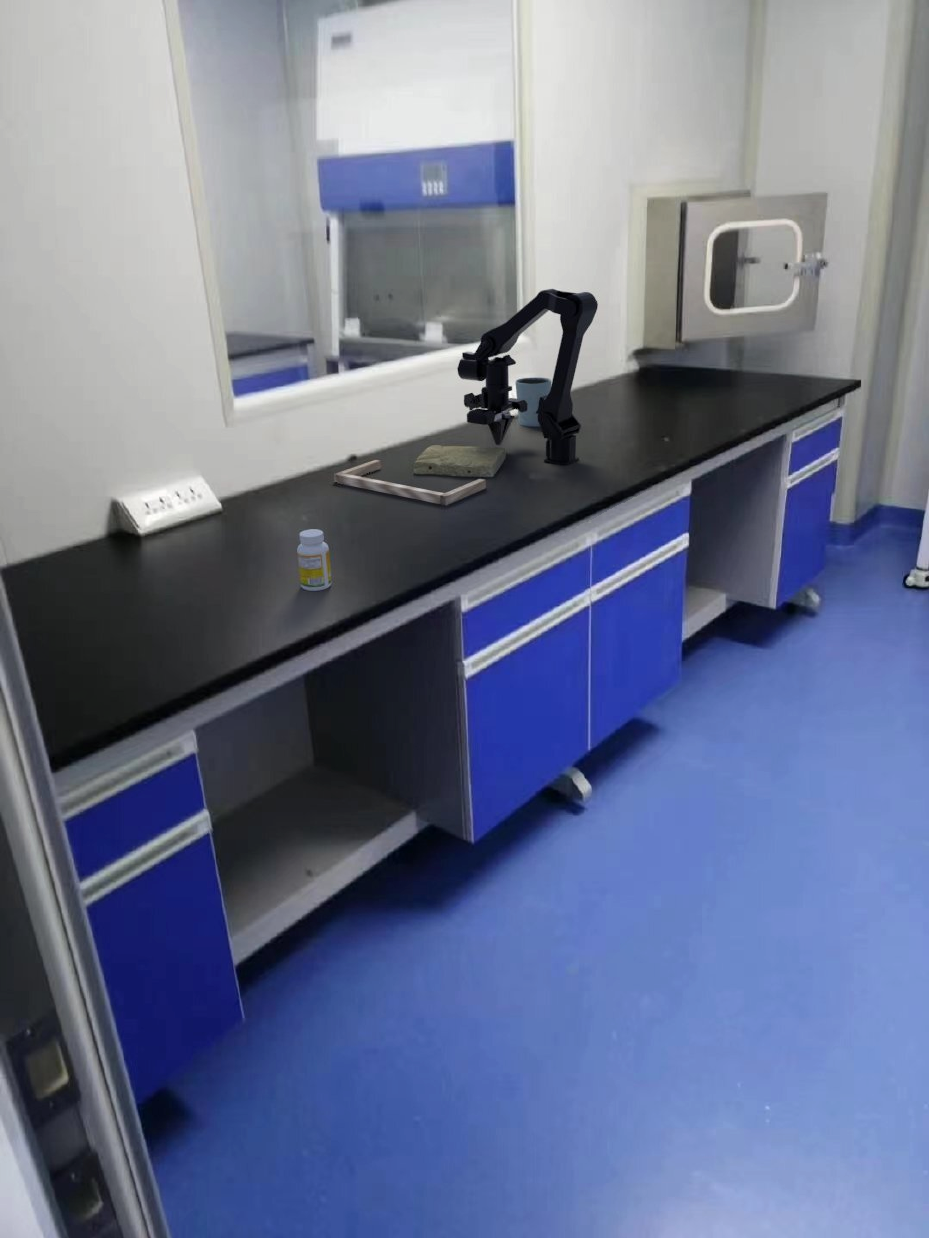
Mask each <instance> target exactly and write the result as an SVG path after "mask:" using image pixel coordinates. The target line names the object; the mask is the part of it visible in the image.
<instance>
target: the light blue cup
mask: <svg viewBox="0 0 929 1238" xmlns="http://www.w3.org/2000/svg"><path fill="white" fill-rule="evenodd" d="M551 385H552V379H551V378H548V377H523V378H519V379H518V378H517V379H515V392H516V393H515V394H516V399H524V400H525V401H526V402H527V411H525V412H519V410H517V414H518V415H517V416H518V424H519V425H520V426H522V427H529V428H530V427H533V428H536V427H537V428H538V427H541V426H540V424H539V423H538V420H537V416H538V414H536V411H537V410H538V406H539V399H540V397H542V396H545V395H548V394H549V392H550V389H551Z"/></svg>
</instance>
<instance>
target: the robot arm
mask: <svg viewBox="0 0 929 1238" xmlns="http://www.w3.org/2000/svg"><path fill="white" fill-rule="evenodd" d="M598 305H599V304H598V300H597V299H596V297H595V295H594V294H593V293H592V292H589V291H583V292H578V293H577V292H571V291H570V292H569V291H563V290H562V291H561V290H557V289H554V288H549V289H547V288H546V289H543V290H542V289H541V290H540V291H539V292H538V293H537V295H536V296H534V298H532V299H531V300H530V301H529V302H528V303H526V304H525V305H524V306H523V307H522V308H521V309H519V310H518V311H517V312H516V313H515V314H514V315H513V316H511V317H510V318H509V319H508V320H507V321H506V322H504V323H502V324H500V325H498V326H495V327H493V328H491V329H490V330H488V331H486V332H484V333H483V334H482V336H481V337H480V343H479V344H478V346H477V349H476V350H475V351H474V352H472V351H464V352H462V355H461V356H462V357H461V359H459V362H458V366H457V368H456V369H457V374H458V376H459V378H460V379H461V380H467V381H476V382H483V381H485V386H483V387H482V388H481V389H480V390H481V393H479V394H476V395H475V394H474V393H473V392H470V393H466V394H464V395H463V405H464V407H465V408H468V409H469V411H468V412H467V413H466V422H467V423H468V424H469V423H470V424H474V425H475V424H476V425H482V426H485V425H486V426H488V428H489V431H490V433H491V435H492V439H493V441H494V444H495V445H496V446H501V445H502V444H503V441H504V439H505V436H506V434H507V432H508V430H509V427H510V426H511V423H512V422H513V420H514V419H515V418H516V417H515V416H516V415H511V412H510V411H514V410H516V411H518V410H519V412H525V411H527V402H526V401H525V400H524V399H517V397H516V398H515V397H510V396H509V395H510V394H509V393H510V392H511V391H513V386H512V385H509V382H510V381H509V377H510V376H509V367H510V366H513V365H516V364H517V361H516V360H514V358H513V357H512V356H511V355H510V354H506V353H508V352H510V351H511V350H512V348H513V347H514V346H515V344H516V343H517V342H518V339H519V338H520V336H521V334H522V333H524V332H525V331H526V330H527V329H528V328H529V327H531V326H532V325H534V323H536V322H537V321H538V320H539V319H541V318H542V317H543V316H544V315H546V313H548V312H549V311H550V312H552V313H554V314H557V315H559V316H560V317H559V321H560V324H561V325H560V326H561V330H562V335H561V339H560V343H559V349H558V354H557V358H556V362H555V363H556V364H555V366H554V372H553V376H552V379H551V389H550V392H549V394H548V395H545V396H542V397H540V399H539V406H538V410H537V411H536V414H538V416H537V420H538V423H539V424H540V426H539V427H540V429H541V432H542V435H543V438H544V439H547V440H545V458H544V459H543V462H545V463H550V464H558V465H563V466H567V465H569V464H571V463H573V462H575V461H577V460H579V459H580V457H579V456H577V455H576V454H577V452H576V451H577V442H576V441H577V434H579V433H580V430H581V428H582V425H581V423H580V422H579V420H577V418H576V416H575V415H574V414H573V409H574V408H573V407H574V403H573V401H572V395H571V392H572V388H573V383H574V378H575V374H576V369H577V365H578V362H579V356H580V352H581V349H582V348H581V347H582V343H583V339H584V335H585V333H586V332H587V330H588V329H589V327H590V326H591V324H592V323H593V320H594V318H595V315H596V313H597V310H598V307H599V306H598ZM502 354H506V355H503V356H502V357H501V356H499V355H502ZM489 358H491V359H489ZM575 434H576V435H575Z"/></svg>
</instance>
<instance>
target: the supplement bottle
mask: <svg viewBox="0 0 929 1238" xmlns="http://www.w3.org/2000/svg"><path fill="white" fill-rule="evenodd" d="M324 539H325V537H324V532H323V531H322V529H321V530H320V529H316V528H315V529H313V528H312V529H306V530H305V529H304V530H303V531H301V532H299V542H300V544H299V545H298V547H297V549H296V550H297V551H296V552H297V553H296V554H297V561H298V570H299V580H300V581H299V582H300V587H301V588H302V589H303V590H305V591H308V592H309V591H310V592H318V591H323V590H327V589H328V588H329V587H330V586H331V585H332V570H331V559H330V549H329V548H330V547H329V545H328V543H326V542H325V541H324Z"/></svg>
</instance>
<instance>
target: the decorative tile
mask: <svg viewBox="0 0 929 1238" xmlns="http://www.w3.org/2000/svg"><path fill="white" fill-rule="evenodd" d="M506 450H507V449H506V448H505V447H493V446H461V445H460V446H459V445H447V446H443V445H439V444H437V445H436V444H435V445H430V446H428V447H427V448H425V449H424V451H423V452H422V453H421V454H420V455H419V456H418V457H417V458H416V461H414V466H413V474H414V473H415V475H440V476H451V477H470V478H471V477H479V478H480V477H481V478H482V477H483V478H484V477H485V478H486V477H487V478H493V477H494V476H495V474H497V472H498V470H499V469H500V467H501V466H502V464H504V461H505V460H506V458H507V455H506V454H507V453H506V452H507V451H506Z"/></svg>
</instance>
